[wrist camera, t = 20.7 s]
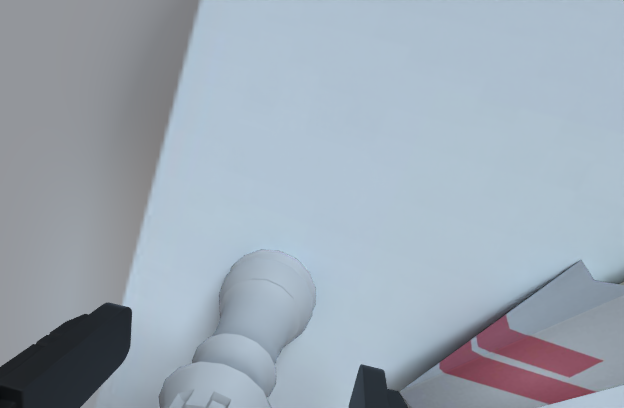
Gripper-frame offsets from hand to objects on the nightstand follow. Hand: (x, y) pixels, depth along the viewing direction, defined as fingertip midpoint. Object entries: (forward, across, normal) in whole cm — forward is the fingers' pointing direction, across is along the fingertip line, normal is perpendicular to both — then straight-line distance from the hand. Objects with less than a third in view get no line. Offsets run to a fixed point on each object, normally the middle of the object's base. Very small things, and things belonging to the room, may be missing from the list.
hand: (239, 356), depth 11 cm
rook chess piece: (+5, 0, 0) cm, 5 cm away
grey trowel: (+5, -15, -4) cm, 16 cm away
